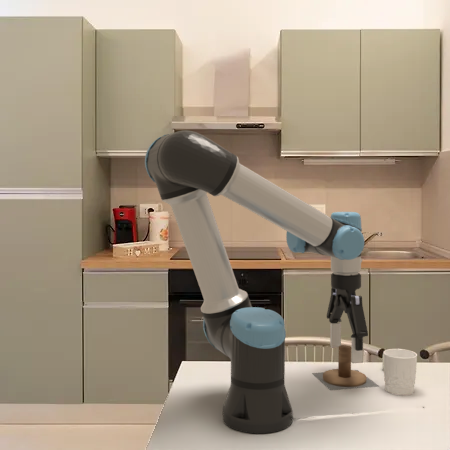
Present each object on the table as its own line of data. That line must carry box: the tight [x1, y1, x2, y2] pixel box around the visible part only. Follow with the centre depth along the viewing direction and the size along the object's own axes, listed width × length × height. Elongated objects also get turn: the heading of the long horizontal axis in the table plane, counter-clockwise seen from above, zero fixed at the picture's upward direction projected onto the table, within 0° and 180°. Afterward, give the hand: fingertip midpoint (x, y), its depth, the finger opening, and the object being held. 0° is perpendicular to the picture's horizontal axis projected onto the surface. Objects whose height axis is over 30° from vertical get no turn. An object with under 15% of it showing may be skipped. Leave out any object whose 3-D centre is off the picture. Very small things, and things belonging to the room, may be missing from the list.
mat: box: [311, 369, 380, 391], centre depth 151 cm, size 13×13×1 cm
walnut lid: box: [323, 344, 367, 387], centre depth 150 cm, size 11×11×8 cm
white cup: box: [382, 348, 418, 396], centre depth 143 cm, size 8×8×10 cm
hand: (345, 354), depth 150 cm, fingers open, 13 cm apart
